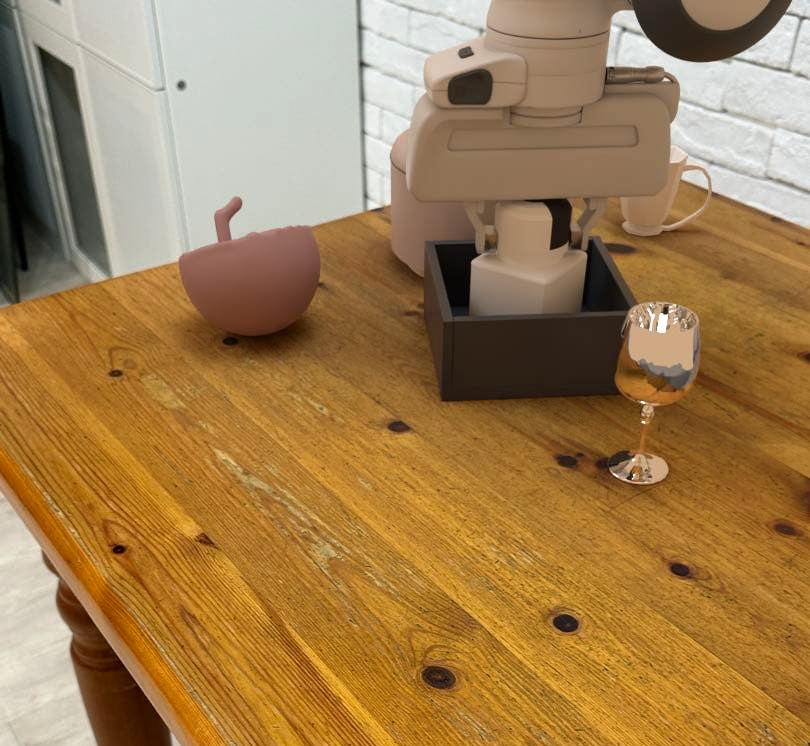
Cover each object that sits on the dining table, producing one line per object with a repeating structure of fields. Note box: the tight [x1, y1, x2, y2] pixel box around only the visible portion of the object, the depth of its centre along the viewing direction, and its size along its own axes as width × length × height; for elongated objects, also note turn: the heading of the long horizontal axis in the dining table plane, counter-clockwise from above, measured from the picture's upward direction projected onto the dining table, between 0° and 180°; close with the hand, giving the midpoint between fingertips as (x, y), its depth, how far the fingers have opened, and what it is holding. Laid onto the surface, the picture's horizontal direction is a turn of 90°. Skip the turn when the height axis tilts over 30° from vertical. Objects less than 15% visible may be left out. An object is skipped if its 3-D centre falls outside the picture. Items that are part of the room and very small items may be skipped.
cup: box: [619, 144, 713, 237], centre depth 110 cm, size 7×10×8 cm
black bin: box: [423, 235, 639, 402], centre depth 88 cm, size 16×16×7 cm
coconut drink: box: [177, 195, 321, 337], centre depth 90 cm, size 12×12×12 cm
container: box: [389, 127, 575, 278], centre depth 102 cm, size 18×18×12 cm
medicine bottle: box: [469, 199, 587, 316], centre depth 86 cm, size 7×7×12 cm
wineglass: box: [606, 301, 701, 486], centre depth 73 cm, size 6×6×12 cm
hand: (530, 249), depth 85 cm, fingers closed on medicine bottle, 6 cm apart
